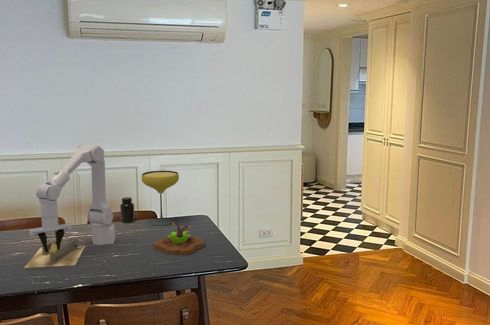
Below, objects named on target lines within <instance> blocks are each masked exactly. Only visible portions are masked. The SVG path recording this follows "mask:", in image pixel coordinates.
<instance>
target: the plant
mask: <svg viewBox="0 0 490 325" xmlns="http://www.w3.org/2000/svg"><path fill="white" fill-rule="evenodd" d="M171 225H172V226H177V229H176V232H175V231H171V232H170V234H169V235H167V236H165V237H163V238H159V239H158V241H155V243H152V244H153V245H152V249H154V250H155V251H159V252H162V253H165V254H166V255H170V256H178V255H181V256H188V255H192V254H194V253H195V252H197V251H198V250H201V249H203V248H205V239H203V238H199V237H197V236H193V235H191V234H188V233H189V229H190V226H189V225H187V224H186V225H184V226H183V227H182V228H181V226H180V225H179V223H178V222H177V221H172V223H171Z"/></svg>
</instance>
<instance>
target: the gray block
mask: <svg viewBox="0 0 490 325" xmlns="http://www.w3.org/2000/svg"><path fill="white" fill-rule="evenodd" d="M53 241H54V240H51V241H49V242H53ZM49 242H47V249H48V252H45V251H44V247H43V244H42V245H41V248H42V254H43V255H46V256H47V255H49Z"/></svg>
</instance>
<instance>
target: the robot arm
mask: <svg viewBox="0 0 490 325" xmlns="http://www.w3.org/2000/svg"><path fill="white" fill-rule="evenodd" d="M104 152H105V150H104V148H102V147H101V146H99V145H89V144H79V145H78V146H76V148H75V149H74V150H73V155H72V156H71V157H70V158H69V160H68V161H67V162H66V164H64V166H63V168H62V169H57V170H55V171H54V172H53V174H52V175H51V177H49V179H47V181H46V182H45V183H42V184H40V185H39V186H38V188H37V189H36V192H35V195H36V197H37V199H38V201H39V204H40V212H41V215H40V216H41V226H40V227H35V228H31V229H29V232H28V233H29V236H30V237H32V236H35V235H37V236H38V238H39V240H40V242H41V244H42V245H43V247H44V251H45V252H48V249H47V243H48V242H47V241H48V236H47V233H52V232H53V233H55V234H54V235H55V241H56V242H57V246H58V250H60V245H62V244H61V243H62V241H63V238H64V236H65V233H66V232H65V231H66V230H72V224H71V223H59V212H58V198H59V197H60V195H61V191H62V189H63V188H64V186H66V184H67V183H68V182H69V181H70V179H71V177H70V176H71V174H72V173H73V172H74V171H76V169H78V167H80V166H81V164H82V163H86V164H87V165H89V166H90V168H91V192H92V193H91V194H92V202H91V204H89V206H88V208H87V209H88V210H87V215H86V219H87V222H89V225H91V238H92V244H93V245H94V246H103V245H104V246H105V245H114V244H115V242H116V228H115V224H114V223H112V222H113V219H114V214H113V213H114V212H113V211H112V206H111V205H110V204H109V203H107V200H106V199H107V198H106V196H107V194H106V165H105V164H106V161H105V153H104Z"/></svg>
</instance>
